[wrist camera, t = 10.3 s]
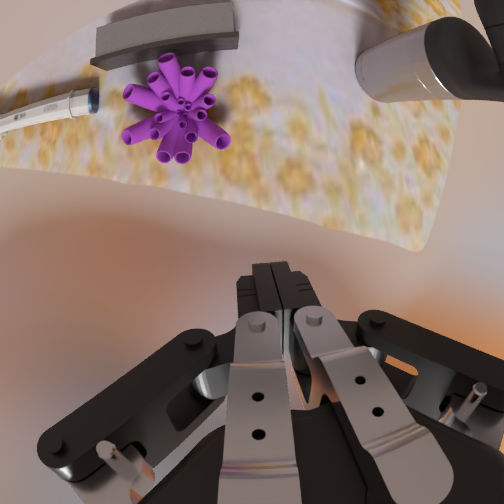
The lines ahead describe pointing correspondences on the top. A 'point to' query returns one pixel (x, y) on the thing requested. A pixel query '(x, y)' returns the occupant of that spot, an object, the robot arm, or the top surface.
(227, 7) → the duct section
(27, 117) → the white handheld device
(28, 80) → the top surface
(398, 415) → the robot arm
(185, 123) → the purple tube coral
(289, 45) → the top surface
